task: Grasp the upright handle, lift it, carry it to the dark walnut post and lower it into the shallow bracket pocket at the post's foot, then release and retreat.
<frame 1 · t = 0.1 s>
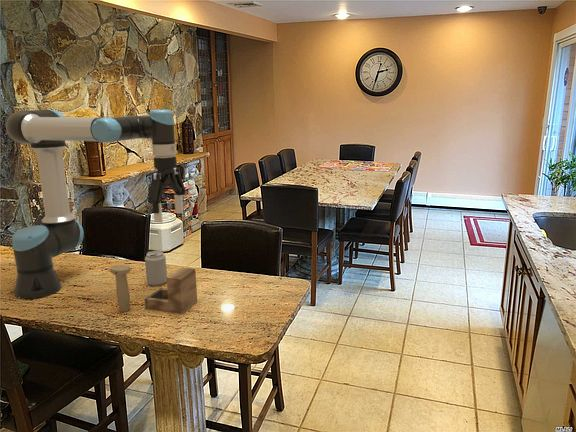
hand: (169, 217, 163), 28 cm above the table, fingers open, 13 cm apart
handle: (124, 310, 156), on the table
can: (157, 283, 179), on the table
post bracket: (174, 305, 159), on the table
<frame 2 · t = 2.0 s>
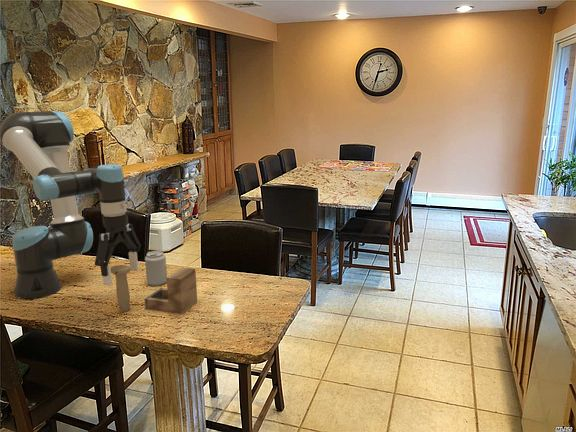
hand: (121, 277, 153), 12 cm above the table, fingers open, 13 cm apart
nothing on the table moved.
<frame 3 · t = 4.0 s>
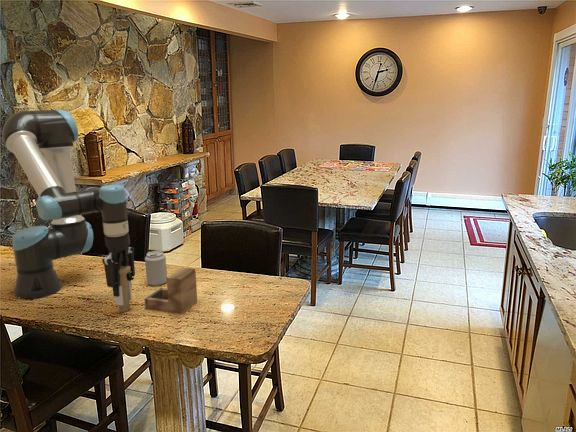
hand: (123, 301, 155), 3 cm above the table, fingers closed on handle, 4 cm apart
handle: (124, 310, 156), on the table, touching gripper
everything else where it was.
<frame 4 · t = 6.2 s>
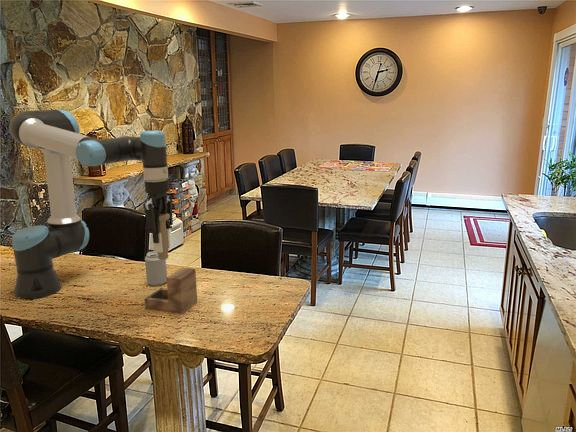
hand: (162, 249, 155), 20 cm above the table, fingers closed on handle, 4 cm apart
handle: (163, 259, 156), point 16 cm above the table, touching gripper
everything else where it was.
when the fingers open (5 cm above the table, at t = 8.5 s): handle drops 2 cm, resting in post bracket.
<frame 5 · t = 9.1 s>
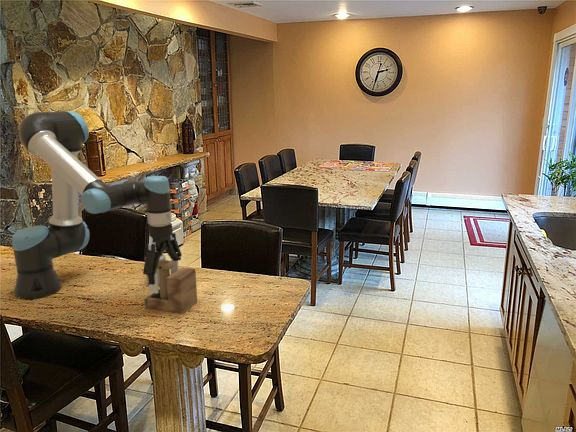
hand: (165, 285, 158), 7 cm above the table, fingers open, 12 cm apart
handle: (166, 304, 160), resting in post bracket
everything else where it was.
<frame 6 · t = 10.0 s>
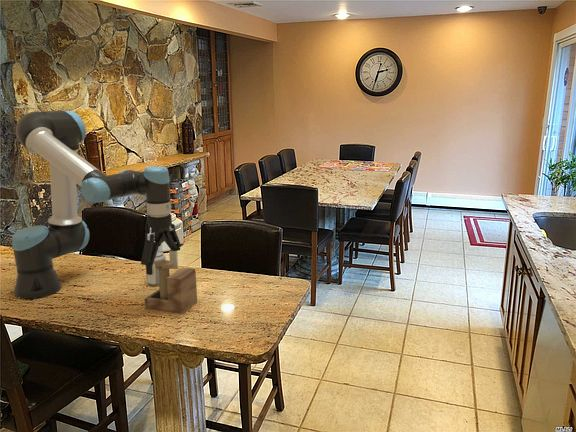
hand: (163, 275, 157), 10 cm above the table, fingers open, 13 cm apart
nothing on the table moved.
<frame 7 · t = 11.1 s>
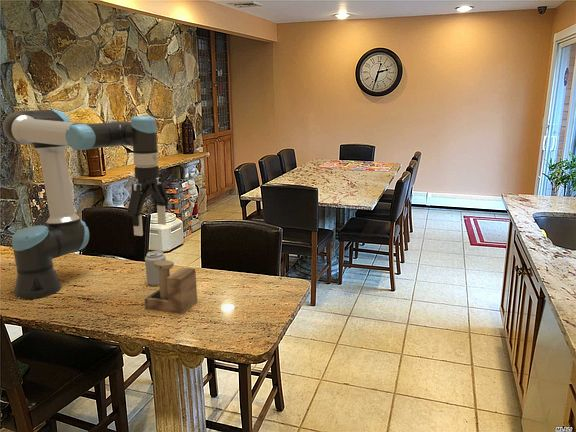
hand: (150, 229, 155), 26 cm above the table, fingers open, 13 cm apart
nothing on the table moved.
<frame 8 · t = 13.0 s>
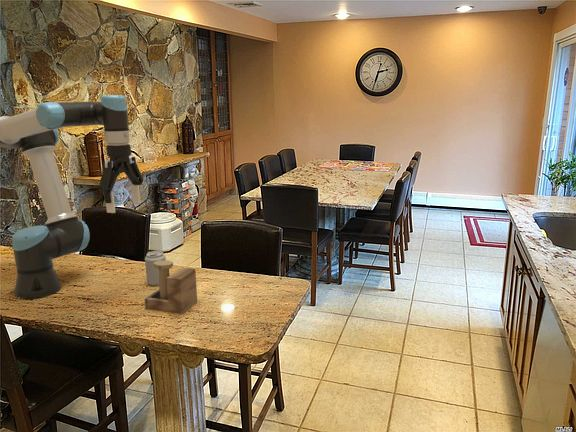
hand: (124, 208, 157), 33 cm above the table, fingers open, 13 cm apart
nothing on the table moved.
at the end: handle 0.1 cm from the target spot on the post bracket, point 0.0 cm above the post bracket's base; handle tilted 0°; the gripper is holding nothing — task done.
